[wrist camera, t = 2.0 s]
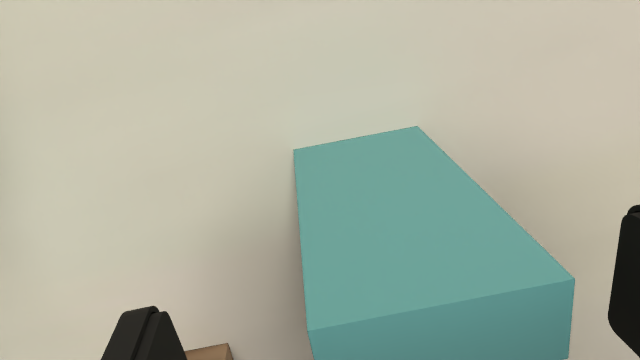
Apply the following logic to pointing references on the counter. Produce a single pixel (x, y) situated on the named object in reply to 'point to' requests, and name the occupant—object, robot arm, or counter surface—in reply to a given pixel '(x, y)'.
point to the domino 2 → (419, 259)
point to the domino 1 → (210, 353)
